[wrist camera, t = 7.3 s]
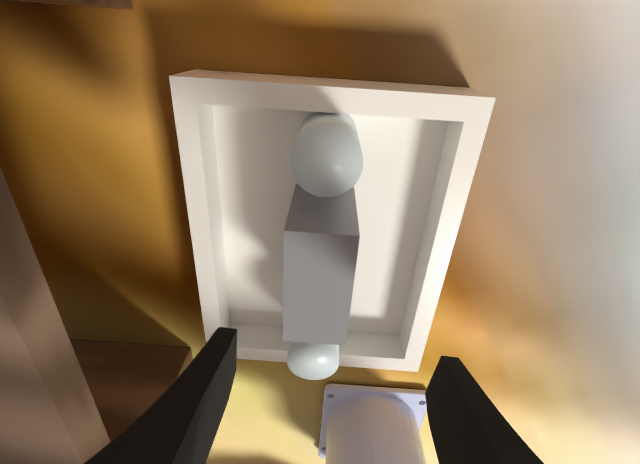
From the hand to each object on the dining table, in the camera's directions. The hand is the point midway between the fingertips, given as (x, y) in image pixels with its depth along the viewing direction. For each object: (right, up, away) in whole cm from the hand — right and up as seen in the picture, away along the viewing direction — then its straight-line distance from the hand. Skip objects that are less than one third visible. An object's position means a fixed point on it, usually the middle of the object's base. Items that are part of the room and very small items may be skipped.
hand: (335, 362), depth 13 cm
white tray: (0, +5, +8) cm, 9 cm away
